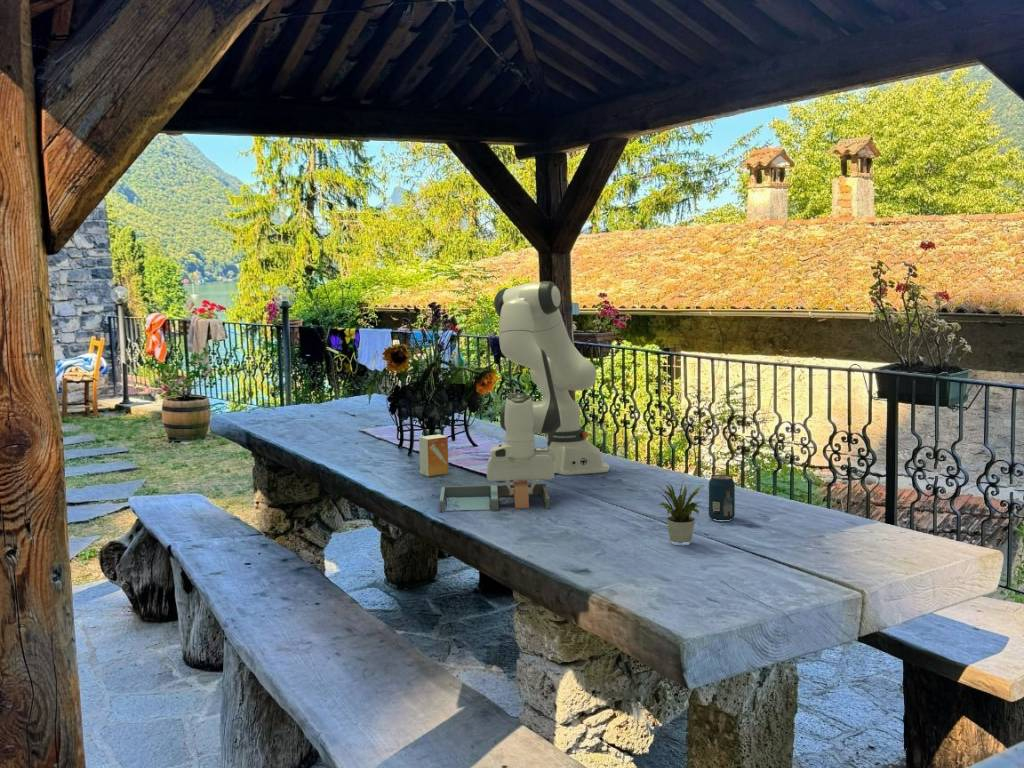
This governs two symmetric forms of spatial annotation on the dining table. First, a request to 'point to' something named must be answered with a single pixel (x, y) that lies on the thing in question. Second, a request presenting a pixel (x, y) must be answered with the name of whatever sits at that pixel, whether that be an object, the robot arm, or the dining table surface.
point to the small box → (433, 455)
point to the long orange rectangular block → (521, 494)
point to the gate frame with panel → (484, 496)
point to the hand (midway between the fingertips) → (521, 494)
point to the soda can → (721, 497)
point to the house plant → (680, 515)
